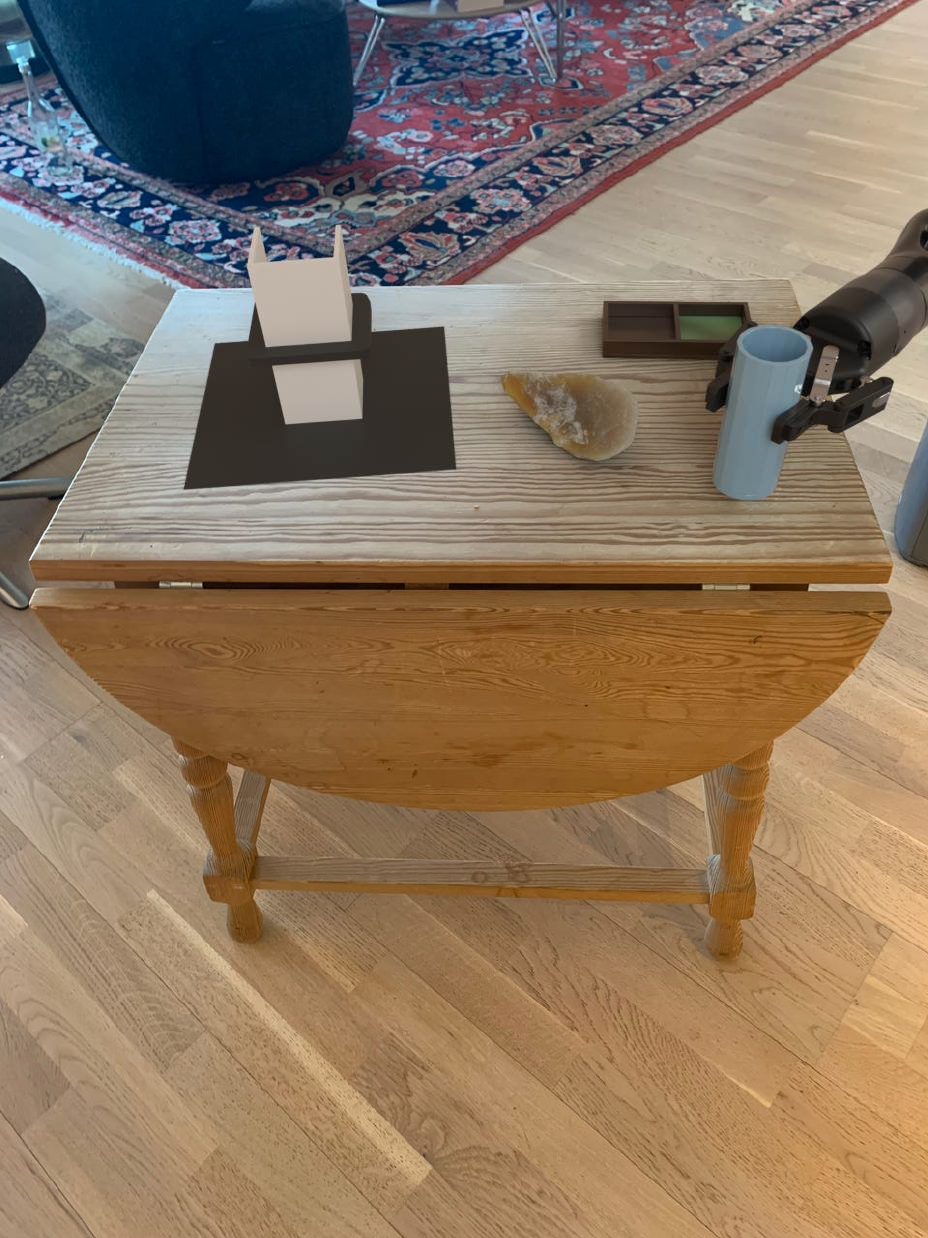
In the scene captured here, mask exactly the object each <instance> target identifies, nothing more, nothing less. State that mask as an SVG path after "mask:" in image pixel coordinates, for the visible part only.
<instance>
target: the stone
mask: <svg viewBox="0 0 928 1238" xmlns="http://www.w3.org/2000/svg"><path fill="white" fill-rule="evenodd" d="M500 384H501V386H502V388H503V391H504V394H506V395H507V396H508V397H510V398H511V399H512V400H513V401H514V402H515V403H516V405H517V406H518V407H519V408H520V409H521V410H522V411H523V412H525V413H526V414H527V415H528V416H529V417H530V419H531V420H532V421H533V422H534V424H536V425H538V426H539V427H540V428H541V429H542V430H543V431H544V432H546V433H547V434H549V436H550V438H551V440H552V443H553V445H554V446H557V447H559V448H561V449H563V450H565V451H567V453H568V454H570V455H572V456H574V457H575V458H577V459H580V460H581V459H582V460H586V461H595V462H601V461H602V462H603V461H607V460H609V459H612V458H613V457H615V456H617V455H619V454H621V453H623V452H625V450H627V449H628V448H630V446H631V445H632V443H634V441H635V439H636V433H637V430H638V423H639V415H640V410H639V409H640V408H639V401H638V399H637V398H636V396H635V394H634V393H633V392H631V391H630V390H629V389H627V388H624V387H622V386H620V385H617V384H615V383H613V382H611V381H607V380H606V379H603V378H602V377H601V376H599V375H593V374H591V373H584V374H576V373H573V372H564V373H561V374H557V373H551V374H550V373H548V374H547V373H544V372H542V371H537V370H509V369H508V371H506V372H505V373H504V374H503V375H502V376H501V378H500Z"/></svg>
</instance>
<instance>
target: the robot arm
mask: <svg viewBox="0 0 928 1238" xmlns="http://www.w3.org/2000/svg"><path fill="white" fill-rule="evenodd" d="M757 326H759V323H758V322H756V321H754V320H752V321H746V322H744V323H743V325H742V326H741V327H740V328H739V329H738V330H737V331H736V332H735V333H734V335H733V336H732V337H731V338H730V339H729V340H728V341H727V342H726V343H725V345H724V346H723V347H722V348H721V349H720V350H719V355H718V359H717V362H716V367H715V372H714V379H713V380H711V381H710V382H708V383H707V386H706V391H705V398H704V403H705V408H704V409H705V410H706V411H708V412H710V413H712V414H715V413H716V412H718V411H719V410H721V409H722V408H723V407H725V402H726V396H727V391H728V386H729V380H730V375H731V370H732V365H733V359H734V354H735V349H736V344H737V340H738V338H739V336H740V334H741V333H743V332H744V331H746V330H748V329H749V328H753V327H757ZM927 327H928V207H927V208H923V209H922V210H920V211H918V212H916V213H915V214H914V215H913V216H911V218H910V219H909V220H908V221H907V222H906V224H905V225H904V227H903V228H902V229H901V231H900V233H899V235H898V237H897V238H896V241H895V243H894V245H893V247H892V248H891V250H890V251H889V253H888V254H887V255H886V257H884V259H883V260H882V261H881V262H880V263H878V264H877V265H875V266H874V267H873V268H871V269H870V270H869V271H867V272H866V273H865V274H862V275H859V276H857V277H856V278H854V279H852V280H850V281H848V282H846V283H845V284H844V285H842V286H841V287H840V288H838V289H837V290H836V291H834V292H833V293H831V294H830V295H828V296H827V297H826V298H824V299H823V300H821V301H820V302H819V303H818V304H816V305H814V306H813V307H812V308H810V309H809V310H808V311H806V312H805V313H803V314H802V316H801V317H800V318H799V319H798V320H797V321H796V322H795V324H794V325H793V326H792V327H791V328H792V329H795V330H797V331H799V332H801V333H803V334H804V335H805V336H806V337H808V338H809V339H810V340H811V343H812V346H813V351H812V355H811V359H810V363H809V367H808V370H807V374H806V378H805V382H804V386H803V390H802V393H801V397H804V398H800V401H799V402H798V403H796V404H795V405H794V406H792V407H791V408H790V409H789V410H787V411H786V412H785V413H783V414H782V415H781V416H780V417H778V419H777V420H776V422H775V424H774V428H773V432H772V436H771V441H772V442H774V443H776V444H778V445H781V444H782V443H783V442H784V441H787V442H789V443H791V442H793V441H795V440H796V439H798V438H799V437H801V436H802V435H803V434H804V433H805V432H806V431H808V430H809V429H811V428H812V429H814V428H817V427H818V426H819V425H822V426H827V427H826V428H827V431H829V433H832V434H841V433H843V432H845V431H847V430H849V429H851V428H852V427H855V426H857V425H858V424H860V423H862V422H864V421H866V420H868V419H870V418H872V417H873V416H876V415H877V414H879V413H881V412H883V411H884V410H885V409H886V407H887V404H888V401H889V399H890V396H891V393H892V389H893V388H894V387H893V386H894V383H895V380H894V379H893V378H891V377H889V376H880V377H877V378H875V379H874V378H872V377H871V376H872V375H874V374H875V373H876V372H877V371H879V370H880V369H882V367H884V366H885V365H886V364H887V363H889V362H890V361H891V360H893V358H895V357H898V355H899V354H900V353H901V352H902V351H903V350H904V349H905V348H906V347H907V346H908V345H909V343H910V342H911V341H912V340H913V338H914V337H916V336H917V335H918V334H920V333H921V332H922V331H924V330H925V329H926V328H927ZM842 394H844V395H842ZM834 395H836V396H837V395H842V396H840V397H838V398H837V399H835V400H834V401H833V400H828V399H827V397H828V396H834ZM808 397H809V398H808ZM807 398H808V399H807Z"/></svg>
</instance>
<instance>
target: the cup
mask: <svg viewBox="0 0 928 1238" xmlns="http://www.w3.org/2000/svg"><path fill="white" fill-rule="evenodd" d="M812 351H813V346H812V343H811V340H810V339H809V338H808V337H806V336H805V335H804V334H803V333H801V332H799V331H797V330H795V329H792V327H790V326H789V327H788V326H783V325H780V324H779V325H778V324H762V325H758V326H757V327H753V328H749V329H748V330H746V331H744V332H743V333H741V334H740V336H739V338H738V340H737V344H736V349H735V354H734V359H733V365H732V370H731V375H730V380H729V386H728V391H727V396H726V402H725V406H723V407H724V408H723V413H722V418H721V423H720V429H719V432H718V433H719V434H718V439H717V445H716V450H715V455H714V460H713V466H712V473H711V480H712V483H713V485H714V486H715V488H716V489H717V490H718V491H719V492H720V493H722V494H723V495H725V496H727V497H730V498H732V499H734V500H740V501H758V500H762V499H765V498H768V497H769V496H771V495H772V494H773V493H774V492H775V491H776V490H777V488H778V483H779V480H780V478H781V473H782V470H783V467H784V462H785V459H786V454H787V451H788V448H789V447H788V446H789V443H790V442H787V441H784V442H783V443H782V444H781V445H778V444H776V443H774V442H772V441H771V436H772V432H773V428H774V424H775V422H776V420H777V419H778V417H780V416H781V415H782V414H783V413H785V412H786V411H787V410H789V409H790V408H791V407H792V406H794V405H795V404H796V403H798V402H799V401H800V400H801V397H802V396H801V393H802V390H803V386H804V382H805V378H806V374H807V370H808V367H809V363H810V359H811V355H812Z"/></svg>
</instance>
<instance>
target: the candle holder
mask: <svg viewBox="0 0 928 1238" xmlns="http://www.w3.org/2000/svg"><path fill="white" fill-rule="evenodd" d="M334 229H335V230H334V243H333V244H334V245H333V247H334V248H333V256H332V257H319V258H318V257H317V258H305V259H291V260H290V259H289V260H278V261H276V260H275V261H268V260H267V254H266V249H265V246H264V241H263V240H264V239H263V235H262V232H261V227H260V226H254V228H253V233H252V237H251V238H252V239H251V243H250V248H249V254H248V259H247V264H246V268H247V273H248V277H249V281H250V285H251V290H252V294H253V299H254V304H253V310H252V316H251V323H250V329H249V333H248V339H247V340H241V341H228V342H226V341H225V342H215V343H214V346H213V350H212V355H211V360H210V364H209V369H208V373H207V378H206V383H205V387H204V391H203V396H202V397H203V398H202V402H201V406H200V410H199V416H198V420H197V425H196V430H195V434H194V438H193V442H192V448H191V452H190V458H189V462H188V465H187V471H186V475H185V480H184V484H183V490H193V489H194V490H195V489H207V488H219V487H220V488H221V487H222V488H223V487H235V486H249V485H261V484H274V483H288V482H303V481H315V480H317V481H318V480H329V479H341V478H342V479H344V478H355V477H356V478H357V477H369V476H381V475H382V476H383V475H397V474H409V473H422V472H423V473H424V472H435V471H437V472H438V471H449V470H457V460H456V448H455V439H454V438H455V437H454V427H453V414H452V401H451V392H450V380H449V367H448V356H447V355H448V354H447V345H446V333H445V325H444V326H430V327H416V328H402V329H391V330H389V329H387V330H377V331H376V330H375V331H372V330H373V329H372V328H373V326H372V325H373V309H372V302H371V299H370V298H369V296H368V294H367V293H366V292H365V293H364V292H352V290H351V284H350V278H349V271H348V263H347V257H346V250H345V243H344V238H343V237H344V236H343V229H342V225H341V224H336V225H335V228H334Z"/></svg>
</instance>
